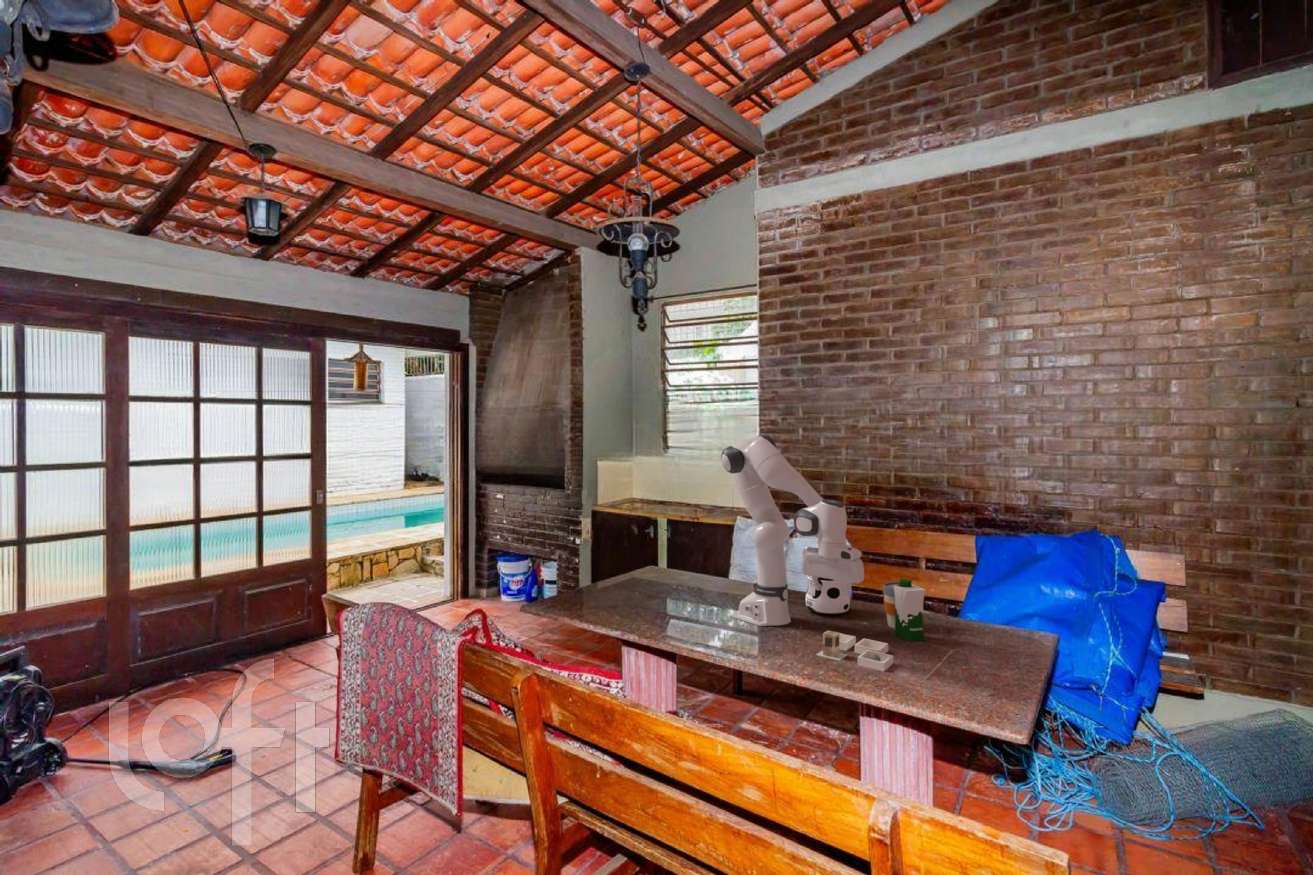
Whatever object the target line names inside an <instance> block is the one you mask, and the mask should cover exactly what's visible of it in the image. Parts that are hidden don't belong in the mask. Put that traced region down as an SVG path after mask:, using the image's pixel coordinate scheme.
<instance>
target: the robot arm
mask: <svg viewBox="0 0 1313 875" xmlns="http://www.w3.org/2000/svg"><path fill="white" fill-rule="evenodd" d="M720 460H721V464H722V466H723V468H724V469H725V471H726V472H728V473H729V474H734V479H735V482H736V486H737V489H738V492H739V495H740V497H741V499H742V501H743V505H744V506H745V509H746V512H747V513H748V514H749V515H750V516H751V518H752V520H753V521H754V523H755V524H756V528H755V529H754V532H753V534H752V535H753V536H752V538H753V539H752V540H753V543H754V544H753V545H754V550H755V557H756V564H757V574H756V575H757V582H755V583H754V584H752V585H751V589H753V591H752V592H751V593H750V594H748V595H747V596H745V597H744V598H742V599H741V600H740V602H739V607H738V610H737V611H735V612H734V613H732V618H734V619H736V620H740V621H743V622H746V623H749V624H752V625H755V626H759V627H766V626H768V627H769V626H784V625H788V624H789V623H791V622H792V620H791V617H790V616H791V615H790V612H789V607H788V605H789V604H788V593H789V592H788V589H789V588H788V584H787V562H786V557H785V556H786V555H785V549H784V548H785V547H784V544H785V542H787V541H788V538H789V533H790V530H789V525H788V523H787V522H786V520H785V519H784V517H783V514H782V513H781V511H780V509H779V507H778V506H777V504H776V502H775V500H774V498H773V496H772V494H771V491H770V489H769V488H772V489H776V490H781V491H785V492H789V493H792V494H794V495H796V496H797V497H798V498H799V499H801V501H802V502H803V503H804V504H805V505H806V507H804V508H801V509H799V510H797V511H796V513H795V515H794V517H793V518H794V519H793V525H794V529H795V530H796V532H797V534H799V535H800V536H802V537H809V538H810V537H817V540H818V541H817V542H818V543H817V544H818V547H811V546H807V547H805V548H803V550H802V561H801V562H802V563H801V573H802V574H803V575H805V576H808V575H810V576H812V580H813V582H814V584H815V590H821V585H822V584H819V582H818V580H817V579H818V578H819V577H821V578H827V579H833V580H839V581H845V582H846V585H847V587H846V589H843V595H847V596H848V595H849V594H850V589H851V587H852V586H853V584H856V585H857V584H860V583H863V581H864V579H865V567H864V562H863V561H862V559H861V557H862V551H861V550H859V549H857V548H854V547H852V546H850V545H848V544H847V537H846V531H847V528H848V527H847V525H848V524H847V523H848V522H847V521H848V520H847V519H848V518H847V510H846V506H845V505H844V503H843V502H841V501H839V500H836V499H829V498H826V499H825V498H824V496H823V495H822V494H821V493H820V492H819V491H818V490H817V489H816V487H815V486H814V485H812V483H811V482H810V481H809V480H808V479H807V478H806V477H805V476H803V475H802V474H801V473H800V472H799V471H798V470H797V469H796V468H794V467H793V466H792V465H791V464H790V463H789V461H787V459H786V458H785V457H784V456H783V454H782V453H781V451H779V450H778V448H777V444H776V441H775V440H774V439H773V437H772V436H771V435H769V434H760V435H757V436H754V437H750V438H746V439H744V440H742V441H739V442H738V443H735V444H733V445H730V446H728V447H727V446H726V447H725V448H724V449H723V450H722V451H721V455H720ZM849 596H850V595H849Z"/></svg>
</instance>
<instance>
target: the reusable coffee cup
mask: <svg viewBox="0 0 1313 875" xmlns="http://www.w3.org/2000/svg"><path fill="white" fill-rule="evenodd" d="M896 585H899V581H890V582H885V583H883V585H882V586H883V588H882V594H883V605H884V612H885V613H886V620H887V625H888V626H889V627H890V628H893V629H895V593H894V587H893V586H896ZM912 585H915V586H917V585H916V584H913V583H912Z"/></svg>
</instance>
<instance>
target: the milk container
mask: <svg viewBox="0 0 1313 875" xmlns="http://www.w3.org/2000/svg"><path fill="white" fill-rule="evenodd" d="M817 580H818V582H819V584H822V585H821V590H815V584H814V582H813V580H812V576H810V575H807V590H806V594H805V605H806V608H807V609H808V610H809V611H811V612H812V613H816V614H819V615H826V616H836V615H837V616H838V615H842V614H845V613H847V612H848V611H849V609H850V605H851V600H850V598H851V597H850V595H848V596H847V595H843V589H846V587H847V586H848V585H846V582H845V581H839V580H833V579H827V578H821V577H819V578H818V579H817Z"/></svg>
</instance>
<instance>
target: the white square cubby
mask: <svg viewBox="0 0 1313 875" xmlns="http://www.w3.org/2000/svg"><path fill="white" fill-rule="evenodd" d="M866 650H871V651H875V652H880V653H884V654H888V652H889V643H887V642H883V641H878V640H873V639H870V638H869V639H868V638H865V637H864V638H862V639H861V640H859V641H858V642H856V644H855V645H854V653H855V654H859V655H861V654H862V653H864V652H865V651H866Z"/></svg>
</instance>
